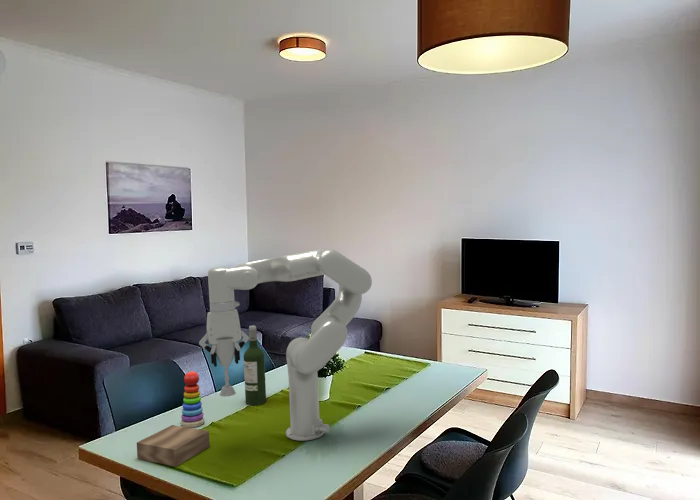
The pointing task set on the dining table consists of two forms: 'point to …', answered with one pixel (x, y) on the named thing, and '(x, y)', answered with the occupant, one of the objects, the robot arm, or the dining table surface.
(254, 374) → the wine bottle
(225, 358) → the chalice
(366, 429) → the dining table surface
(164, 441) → the plinth
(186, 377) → the stacking toy
